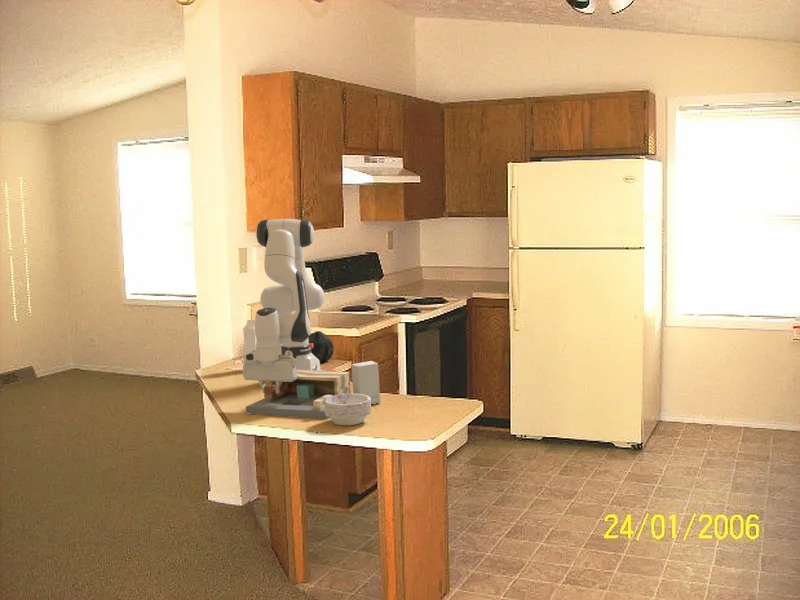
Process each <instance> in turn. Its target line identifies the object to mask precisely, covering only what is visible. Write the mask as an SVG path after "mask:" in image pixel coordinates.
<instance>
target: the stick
mask: <svg viewBox="0 0 800 600" xmlns="http://www.w3.org/2000/svg"><path fill="white" fill-rule="evenodd" d="M330 396H333V395H324V396H323V397H321V398H319V399H317V400H315V401H313V407H314V410H322V409H324V408H325V404H324V403H325V402H324V401H325V399H326V398H328V397H330Z"/></svg>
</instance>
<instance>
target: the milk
mask: <svg viewBox="0 0 800 600" xmlns="http://www.w3.org/2000/svg"><path fill="white" fill-rule="evenodd" d="M242 330H243V344H244V345H243V346H244V347H243V348H244V355H245V354H247V353H250V352H252V351H254V350H256V343H257V340H256V336H255V319H247V320H246V324H245V325H244V326H243V328H242ZM245 361H246V360H244V362H245Z"/></svg>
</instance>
